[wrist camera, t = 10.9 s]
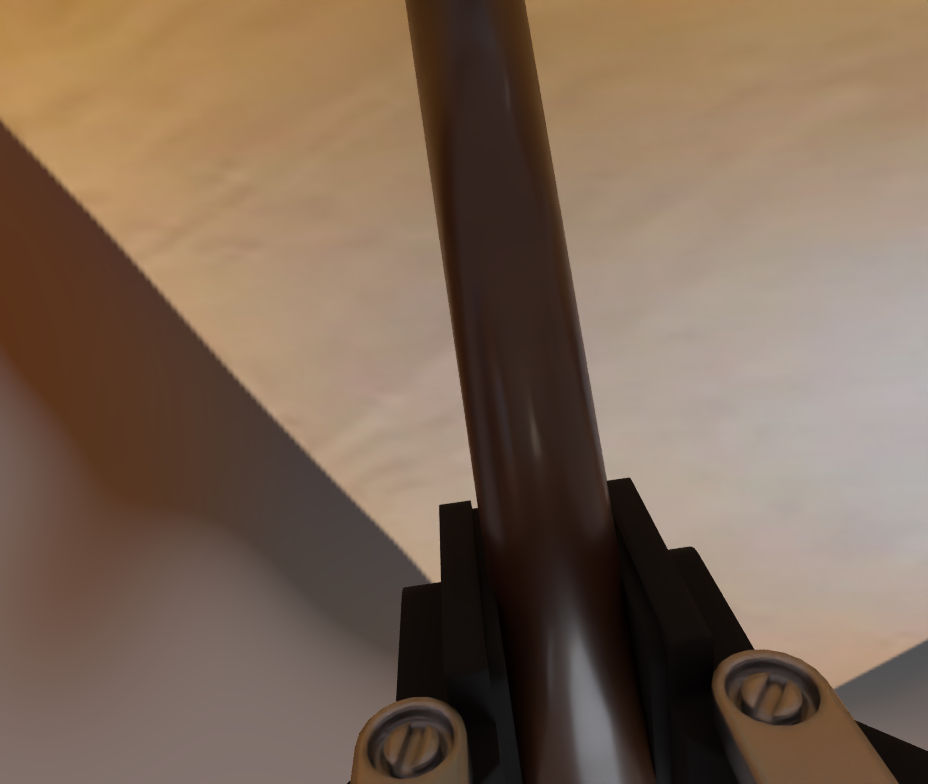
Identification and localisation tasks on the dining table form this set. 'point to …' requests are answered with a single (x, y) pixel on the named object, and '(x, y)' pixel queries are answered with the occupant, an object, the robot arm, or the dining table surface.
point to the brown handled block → (528, 398)
